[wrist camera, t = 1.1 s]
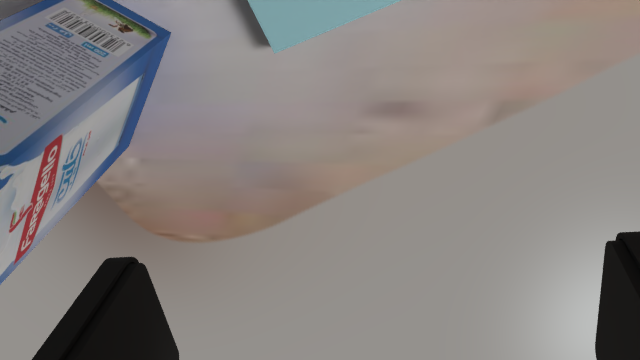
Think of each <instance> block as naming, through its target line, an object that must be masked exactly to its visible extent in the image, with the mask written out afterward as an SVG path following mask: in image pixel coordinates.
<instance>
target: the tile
mask: <svg viewBox="0 0 640 360" xmlns="http://www.w3.org/2000/svg"><path fill="white" fill-rule="evenodd" d="M398 1H401V0H248V2H249V4H250V6H251V8H252V10H253V12H254V14H255V16H256V18H257V20H258V22H259V24H260V26H261V28H262V30H263V32H264V34H265V36H266V38H267V39H268V41H269V43H270V45H271V47H272V49H273V51H274V53H277V52H279V51H282V50H284V49H287V48H289V47H291V46H294V45H296V44H298V43H301V42H303V41H306V40H308V39H310V38H313V37H315V36H317V35H320V34H322V33H325V32H327V31H329V30H332V29H334V28H336V27H339V26H341V25H344V24H346V23H348V22H351V21H353V20H355V19H358V18H360V17H363V16H365V15H367V14H370V13H372V12H375V11H377V10H379V9H382V8H384V7H386V6H389V5H391V4H394V3H396V2H398Z"/></svg>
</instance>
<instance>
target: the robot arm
mask: <svg viewBox="0 0 640 360" xmlns="http://www.w3.org/2000/svg"><path fill="white" fill-rule="evenodd" d="M595 343H596V344H595V350H596V358H597V360H640V232H622V233H618V234H617V237H616V241H608V242H607V243H606V246H605V255H604V265H603V275H602V284H601V294H600V304H599V314H598V324H597V333H596V342H595ZM32 360H179V352H178V349H177V346H176V343H175V341H174V338H173V336H172V333H171V331H170V328H169V325H168V323H167V320H166V317H165V315H164V312H163V310H162V307H161V304H160V302H159V300H158V297H157V294H156V292H155V289H154V286H153V284H152V281H151V279H150V276H149V273H148V271H147V269H146V266H145V265H144V264H142V263H139V262H138V260H137V259H136V258H134V257H120V258H108V259H106V260H105V261H104V262H103V263H102V265H101V266H100V267H99V269H98V270H97V272H96V273H95V274H94V275H93V277H92V278H91V280H90V281H89V283H88V284H87V285H86V287H85V288H84V289H83V290H82V292H81V293H80V295H79V296H78V297H77V299H76V300H75V301H74V303H73V304H72V306H71V307H70V308H69V310H68V311H67V312H66V314H65V315H64V317H63V318H62V319H61V320H60V322H59V323H58V325H57V326H56V327H55V329H54V330H53V331H52V333H51V334H50V335H49V337H48V338H47V340H46V341H45V342H44V344H43V345H42V346H41V348H40V349H39V350H38V352H37V353H36V355H35V356H34V357H33V359H32Z"/></svg>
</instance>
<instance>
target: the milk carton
mask: <svg viewBox="0 0 640 360" xmlns="http://www.w3.org/2000/svg"><path fill="white" fill-rule="evenodd" d="M170 34H171V32H169V31H167V30H165V29H164V28H162V27H160V26H158V25H156V24H154V23H153V22H151V21H149V20H147V19H145V18H144V17H142V16H140V15H138V14H136V13H134V12H133V11H131V10H129V9H127V8H125V7H124V6H122V5H120V4H118V3H116V2H114V1H113V0H44V1H42V2H40V3H37V4H35V5H33V6H31V7H29V8H27V9H24V10H22V11H20V12H18V13H16V14H14V15H11V16H9V17H7V18H5V19H3V20H0V284H1V283H2V282H3V281H4V280H5V279H6V278H7V277H8V276H9V275H10V274H11V272H12V271H13V270H14V269H15V268H16V267H17V266H18V265H19V264H20V263H21V261H23V260H24V258H25V257H26V256H27V255H28V254H29V253H30V252H31V251H32V250H33V249H34V248H35V246H36V245H37V244H38V243H39V242H40V241H41V240H42V239H43V238H44V237H45V236H46V235H47V234H48V233H49V232H50V230H51V229H52V228H53V227H54V226H55V225H56V224H57V223H58V222H59V221H60V220H61V219H62V218H63V216H64V215H65V214H66V213H67V212H68V211H69V210H70V209H71V208H72V207H73V206H74V205H75V203H76V202H77V201H78V200H79V199H80V198H81V197H82V196H83V195H84V194H85V192H87V191H88V190H89V188H90V187H91V186H92V185H93V184H94V183H95V182H96V181H97V180H98V179H99V178H100V177H101V176H102V174H103V173H104V172H105V171H106V170H107V169H108V168H109V167H110V166H111V165H112V164H113V163H114V162H115V160H116V159H117V158H118V157H119V156H120V155H121V154H122V153H123V152H124V151H125V150H126V149H127V148H128V146H129V144H130V141H131V139H132V136H133V133H134V131H135V128H136V125H137V123H138V120H139V117H140V114H141V112H142V109H143V106H144V104H145V101H146V98H147V96H148V93H149V90H150V88H151V85H152V82H153V80H154V77H155V74H156V72H157V69H158V66H159V64H160V61H161V58H162V56H163V53H164V50H165V48H166V45H167V42H168V40H169V37H170Z"/></svg>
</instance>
